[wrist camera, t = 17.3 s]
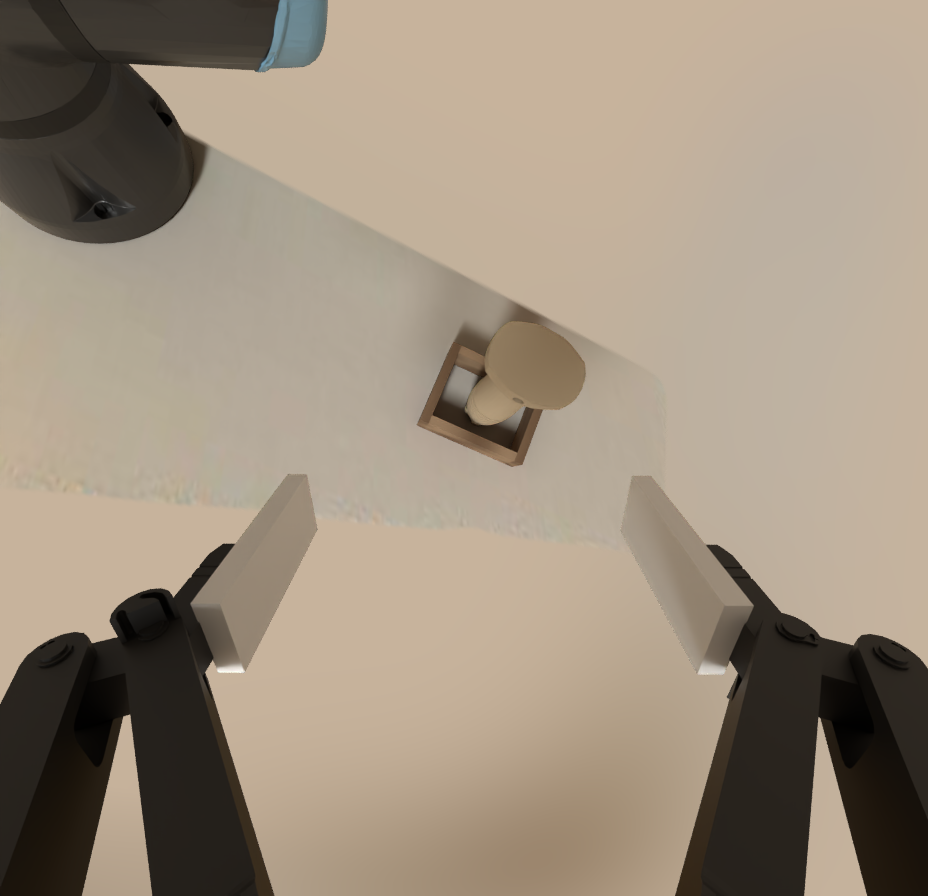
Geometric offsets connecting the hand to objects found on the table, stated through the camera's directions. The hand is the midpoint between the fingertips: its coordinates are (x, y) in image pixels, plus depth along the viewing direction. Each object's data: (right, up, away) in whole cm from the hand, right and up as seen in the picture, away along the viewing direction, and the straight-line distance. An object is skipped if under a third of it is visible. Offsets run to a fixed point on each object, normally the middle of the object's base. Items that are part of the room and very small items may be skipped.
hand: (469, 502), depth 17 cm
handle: (+1, +6, +23) cm, 24 cm away
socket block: (+1, +6, +23) cm, 24 cm away
